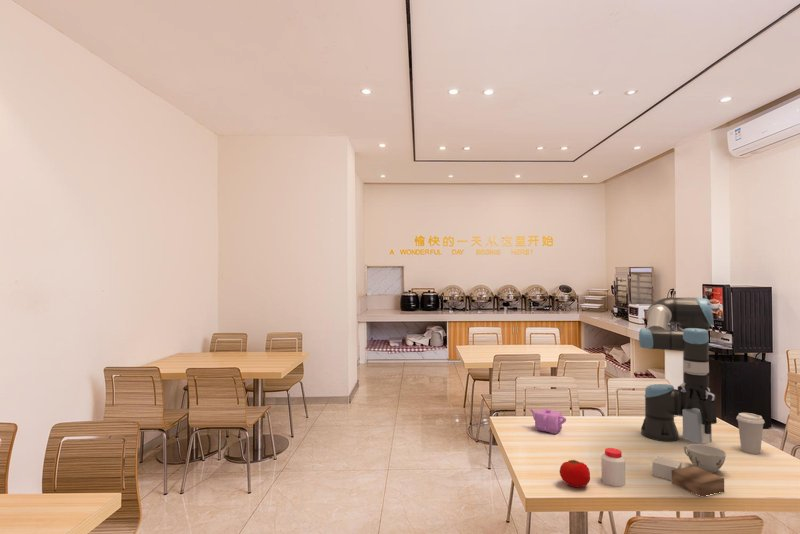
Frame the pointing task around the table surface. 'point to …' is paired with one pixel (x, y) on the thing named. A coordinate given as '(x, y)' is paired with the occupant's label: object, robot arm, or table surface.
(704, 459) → the teacup
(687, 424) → the slate block
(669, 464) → the grey block
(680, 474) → the walnut block
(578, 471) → the tomato
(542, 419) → the teapot
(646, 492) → the table surface
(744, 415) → the coffee cup
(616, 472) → the pill bottle
